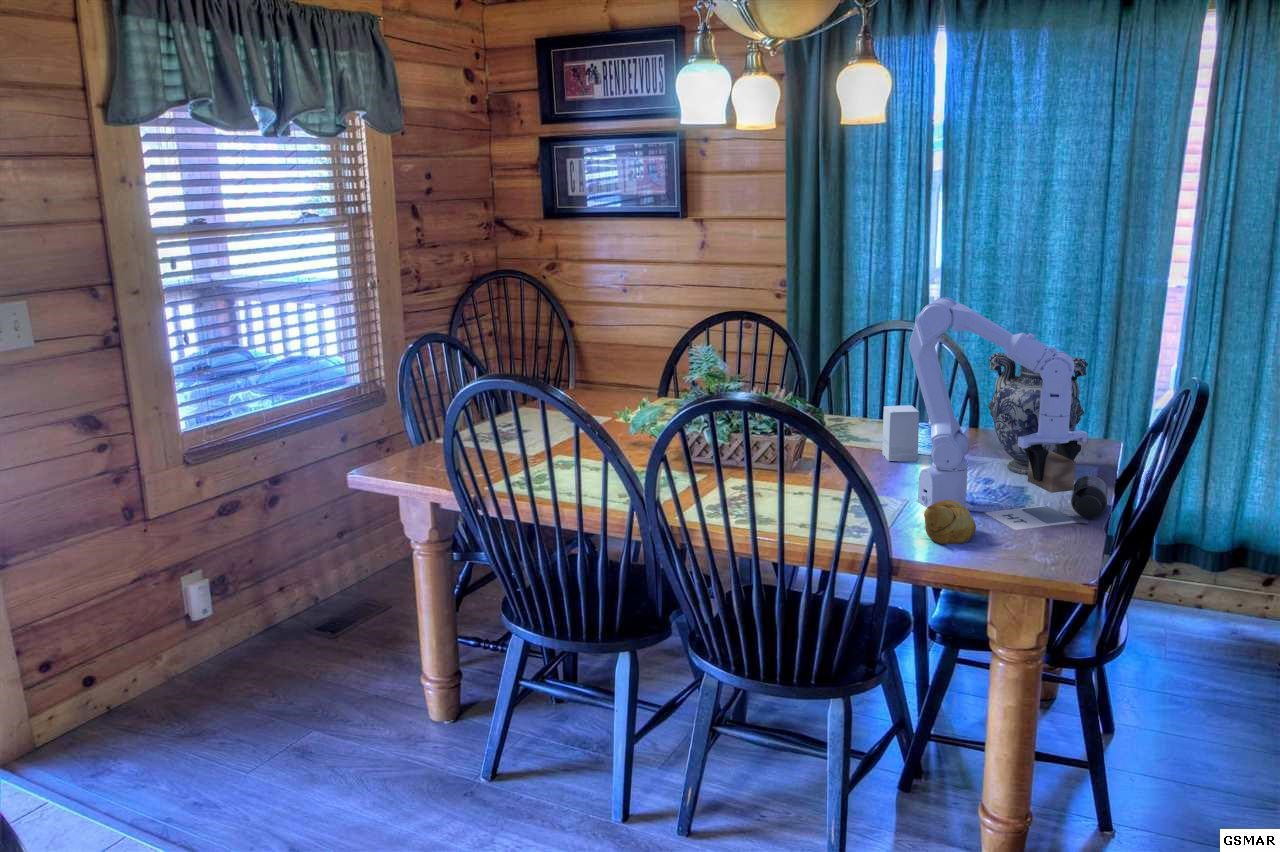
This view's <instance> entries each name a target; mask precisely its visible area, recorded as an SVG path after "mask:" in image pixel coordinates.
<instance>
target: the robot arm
mask: <svg viewBox="0 0 1280 852" xmlns="http://www.w3.org/2000/svg"><path fill="white" fill-rule="evenodd" d="M951 327H952V328H951ZM950 328H951V332H964V331H965V332H966V331H968V332H971V333H972V334H975V335H977V336H978V337H981V338H983V339H985V340H987V341H989V342H991V343H992V344H994V345H997V346H999V347H1001V348H1003V349H1004V351H1005V353H1006V354H1005V355H1007V357H1008V358H1009V359H1011V360H1013V361H1014V362H1015V364H1018V365H1020V366H1021V365H1022V366H1024V367H1025V368H1027V369H1029V370H1031V371H1032V372H1034V373H1040V376H1041V378H1042V380H1043V383H1042V390H1041V396H1040V410H1039V425H1038V433H1034V434H1031V435H1027V436H1022V437H1018V446H1019V447H1021V448H1024V450H1025V452H1026V454H1027V456H1028V459H1029V461H1030V464H1031V468H1032V473H1033V479H1035V480H1037V481H1039V482H1040V481H1042V480H1043V476H1044V466H1045V461H1046V458H1047V455H1048V453H1049V452H1048V451H1047V450H1044V447H1042V445H1052V444H1056V447H1057V454H1059V455H1061V456H1064V457H1066V458H1069V459H1071V460H1073V461H1075V459H1076V457H1077V456H1078V455H1079V454H1080V452H1081V451H1082V445H1081V444H1079V443H1087V442H1088V432H1086V431H1084V430H1074V431H1069V421H1070V409H1071V395H1072V392H1071V387H1072V383H1071V377H1072V375H1073V376H1074V361H1073V359H1072V358H1073V357H1071V356H1070V355H1069V354H1068V353H1067V352H1066V351H1062V350H1058V348H1057V347H1055V346H1052V347H1050V346H1048V345H1047V344H1045V343H1043V342H1041V341H1039V340H1037V339H1035V338H1036V335H1035V334H1032V333H1031V332H1029V333H1028V334H1026V333H1025V332H1019V333H1016V334H1015V333H1014V334H1013V333H1012V332H1010V331H1008V330H1006V329H1005V328H1003V327H1002V326H1000V325H998V324H997V323H995V322H993V321H992V320H990V319H989V318H987V317H985V316H984V315H982V314H980V313H978V311H976V310H973V309H972V308H971V307H968V306H967V305H965V304H962V303H960V302H956V301H955V300H954V299H952V298H950V297H939V298H936V299H935V300H934V301H933V302H931V303H928V304H927V305H925V306H924V307H923V308H922V310H921V311H920V313H918V314H917V316H916V317H915V321H914V326H913V329H912V332H911V336H910V338H909V339H910V340H909V342H908V348H909V352H910V356H911V360H912V363H913V367H914V370H915V373H916V377H917V380H918V384H919V388H920V391H921V396H922V398H923V400H924V401H923V402H924V405H925V408H926V412H927V417H928V420H929V422H930V427H931V428H930V440H931V445H932V446H931V451H930V457H931V460H932V462H931V465H930V466H929V467H925V468H923V469H921V471H920V472H919V475H918V490H917V491H918V494H917V500H916V502H917V503H918V504H920V505H922V506H923V507H925V508H926V509H927V508H928V507H929V506H930V505H933V504H935V503H937V502H939V501H945V500H952V501H957V502H959V503H960V504H962V505H963V506H964V507H966V508H967V509H973V508H974V506H973V505H971V504H970V503H968V502H967V487H968V485H967V484H968V467H969V466H968V463H967V462H966V459H965V456H967V454H968V453H969V451H970V447H971V446H970V441H969V438H968V437H967V436H966V435H965V434H964V432H963V431H962V429H961V425H960V423H959V422H958V421H957V419H956V418H955V413H954V411H953V407H952V403H951V399H950V396H949V392H948V389H947V385H946V381H945V379H944V375H943V371H942V368H941V364H940V361H939V360H940V359H939V357H938V353H937V350H936V347H937V344H938V343H939V342H940V339H942V337H943V335H944V334H945V332H946V331H947V330H949V329H950ZM1035 367H1036V368H1035ZM1034 369H1035V370H1034ZM1033 370H1034V371H1033Z"/></svg>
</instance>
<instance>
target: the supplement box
mask: <svg viewBox="0 0 1280 852" xmlns="http://www.w3.org/2000/svg"><path fill="white" fill-rule="evenodd" d="M882 414H883V415H882V418H883V423H882V425H883V426H882V451H881V453H882V456H883V457H884V456H885V457H884V458H885V459H886V460H887V461H888V462H889V461H897V462H917V461H918V456H919V455H918V453H919V429H920V427H919V425H920V411H919V410H918V409H917V408H916V407H914V406H913V405H908V404H907V405H887V406H886V405H885V406H883V413H882Z"/></svg>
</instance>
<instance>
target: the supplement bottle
mask: <svg viewBox="0 0 1280 852" xmlns="http://www.w3.org/2000/svg"><path fill="white" fill-rule="evenodd" d="M1108 492H1109V491H1108V486H1107V484H1106V482H1105V481H1104V480H1103V479H1101V477H1098V476H1095V475H1090V474H1089V475H1088V474H1087V475H1084V476H1081V477H1080V478H1078V479H1077V480H1076V481H1074V490H1072V491H1071V496H1070V497H1071V498H1070V502H1071V503H1070V505H1071V508H1072V509H1073V511H1074V512H1075V513H1076V514H1077V515H1079V516H1080V517H1081V518H1084V519H1094V518H1096V517H1099V516H1100V515H1103V514H1104V512H1105V510H1106V509H1107V506H1108V499H1109V498H1108V497H1109V494H1108Z"/></svg>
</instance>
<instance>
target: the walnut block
mask: <svg viewBox="0 0 1280 852" xmlns="http://www.w3.org/2000/svg"><path fill="white" fill-rule="evenodd" d="M1048 452H1049V453H1048V455H1047V458H1046V461H1045V466H1044V476H1043V480H1042V481H1040V482H1039V481H1037V480H1035V479H1033V473H1032V468H1031V464H1030V461H1029V468H1028V475H1027V482H1028V483H1030V484H1032V485H1035V486H1036V487H1039V488H1041V489H1043V490H1045V491H1046V492H1049V493H1051V494H1053V493H1064V492H1072V490H1074V484H1075V475H1076V464H1077V463H1076V460H1074V461H1073V460H1071V459H1069V458H1066V457H1064V456H1061V455H1059V454H1057V453H1054V452H1052V451H1048Z"/></svg>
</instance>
